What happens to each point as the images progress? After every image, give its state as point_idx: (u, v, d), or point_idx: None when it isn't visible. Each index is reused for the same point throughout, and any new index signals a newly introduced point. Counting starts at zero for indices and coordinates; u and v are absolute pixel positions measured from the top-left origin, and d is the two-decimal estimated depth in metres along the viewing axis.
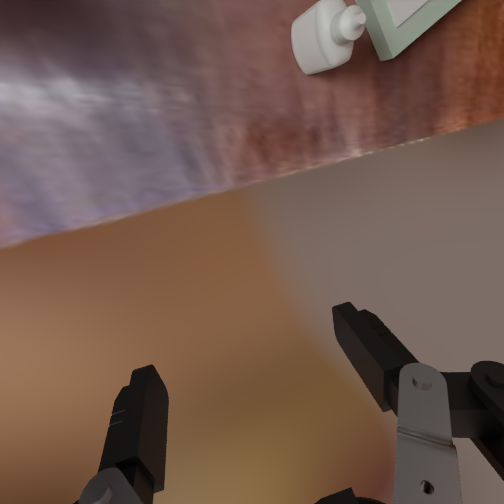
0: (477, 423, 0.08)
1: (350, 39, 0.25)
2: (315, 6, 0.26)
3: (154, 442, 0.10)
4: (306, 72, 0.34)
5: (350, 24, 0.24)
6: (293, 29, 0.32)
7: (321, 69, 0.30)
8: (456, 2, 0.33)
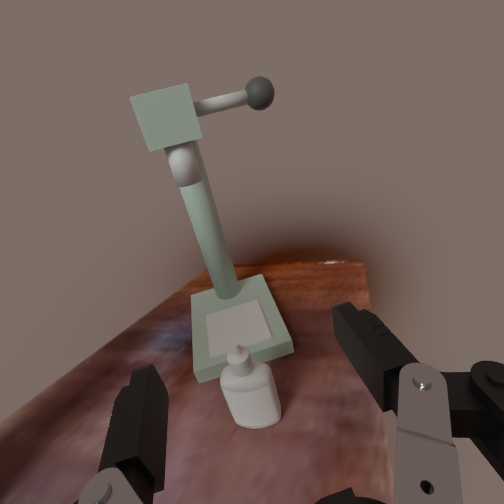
0: (477, 423, 0.08)
1: (247, 357, 0.29)
2: (222, 389, 0.31)
3: (154, 442, 0.10)
4: (277, 417, 0.33)
5: (236, 355, 0.29)
6: (239, 422, 0.33)
7: (272, 396, 0.31)
8: (274, 303, 0.48)
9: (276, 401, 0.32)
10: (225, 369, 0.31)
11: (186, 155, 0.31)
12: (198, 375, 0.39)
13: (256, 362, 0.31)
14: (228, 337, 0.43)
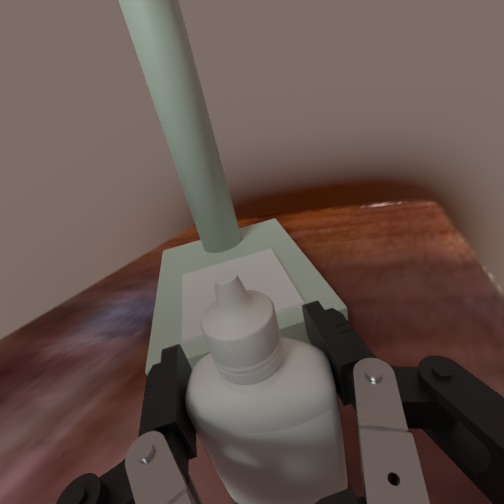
0: (424, 414, 0.09)
1: (267, 319, 0.09)
2: (191, 420, 0.11)
3: (186, 413, 0.11)
4: None
5: (230, 311, 0.09)
6: (240, 500, 0.13)
7: (336, 440, 0.11)
8: (300, 252, 0.27)
9: (343, 451, 0.12)
10: (202, 362, 0.11)
11: None
12: None
13: (290, 342, 0.11)
14: None
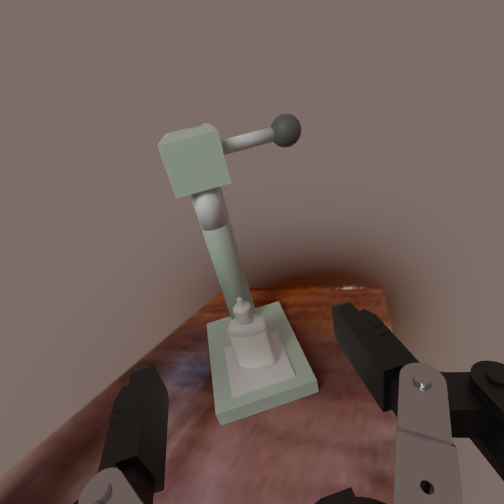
0: (477, 423, 0.08)
1: (248, 308, 0.38)
2: (229, 335, 0.39)
3: (155, 442, 0.10)
4: (272, 361, 0.41)
5: (240, 306, 0.37)
6: (242, 365, 0.42)
7: (268, 341, 0.40)
8: (294, 336, 0.46)
9: (271, 347, 0.40)
10: (231, 321, 0.40)
11: (213, 199, 0.30)
12: (220, 417, 0.38)
13: (255, 315, 0.40)
14: (249, 375, 0.41)
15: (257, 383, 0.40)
